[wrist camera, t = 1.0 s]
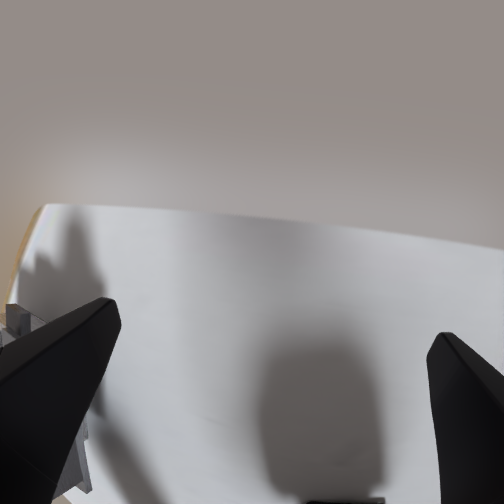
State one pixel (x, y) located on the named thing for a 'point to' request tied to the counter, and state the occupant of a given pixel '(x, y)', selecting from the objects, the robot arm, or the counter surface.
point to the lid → (76, 461)
